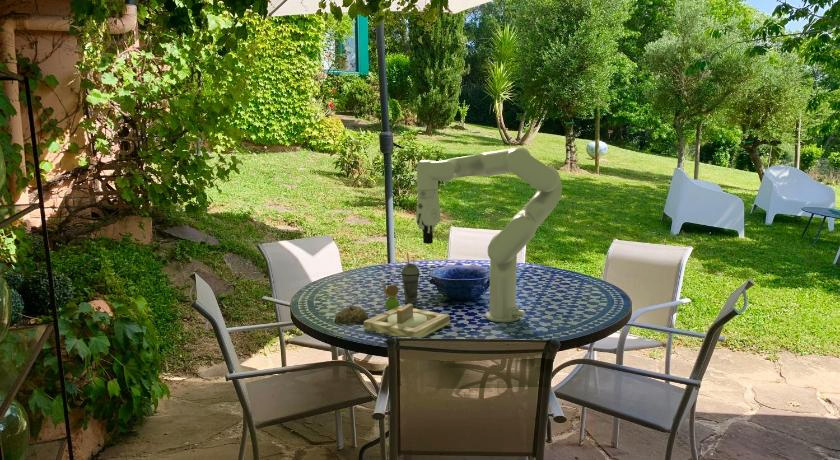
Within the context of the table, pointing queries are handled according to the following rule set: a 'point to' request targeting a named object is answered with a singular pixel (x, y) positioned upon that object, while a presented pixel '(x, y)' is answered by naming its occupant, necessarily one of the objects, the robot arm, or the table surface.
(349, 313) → the bread roll
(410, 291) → the beverage cup
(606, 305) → the table surface
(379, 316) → the tray
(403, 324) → the dial
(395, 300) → the toy figurine
